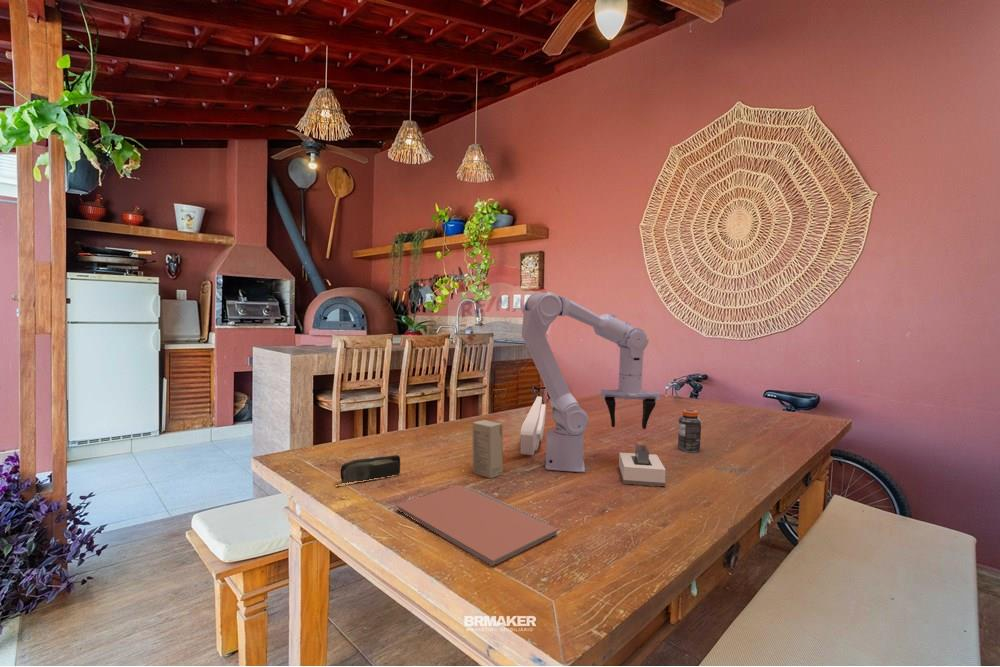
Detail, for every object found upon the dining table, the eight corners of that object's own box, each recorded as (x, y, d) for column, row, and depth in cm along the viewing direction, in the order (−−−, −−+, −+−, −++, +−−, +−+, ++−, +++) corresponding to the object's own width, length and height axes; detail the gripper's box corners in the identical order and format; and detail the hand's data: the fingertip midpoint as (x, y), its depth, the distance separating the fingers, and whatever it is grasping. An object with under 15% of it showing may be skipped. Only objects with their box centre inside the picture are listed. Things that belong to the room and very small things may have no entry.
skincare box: (503, 474, 115) (504, 423, 114) (490, 479, 111) (491, 426, 111) (483, 468, 119) (484, 418, 118) (471, 472, 116) (472, 421, 115)
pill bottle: (701, 449, 139) (703, 410, 139) (697, 454, 134) (699, 413, 134) (680, 445, 143) (681, 407, 142) (675, 450, 138) (677, 410, 137)
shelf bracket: (548, 434, 152) (548, 397, 149) (537, 477, 128) (537, 434, 125) (530, 433, 153) (530, 395, 150) (516, 475, 129) (516, 432, 126)
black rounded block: (397, 452, 115) (333, 462, 106) (402, 456, 113) (338, 466, 104) (396, 473, 115) (332, 484, 106) (402, 477, 113) (337, 489, 104)
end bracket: (637, 476, 113) (638, 451, 112) (634, 469, 118) (635, 444, 117) (647, 477, 112) (649, 451, 112) (644, 470, 117) (645, 445, 117)
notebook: (562, 536, 86) (562, 525, 86) (492, 571, 74) (493, 558, 74) (463, 491, 105) (463, 482, 105) (395, 513, 94) (396, 503, 93)
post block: (623, 484, 110) (624, 466, 110) (618, 468, 121) (619, 452, 121) (664, 487, 109) (665, 469, 109) (656, 470, 120) (656, 454, 120)
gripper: (602, 375, 121) (600, 429, 122) (663, 378, 119) (660, 432, 120) (600, 371, 128) (598, 422, 129) (657, 373, 126) (655, 425, 127)
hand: (628, 427), depth 125 cm, fingers open, 7 cm apart
